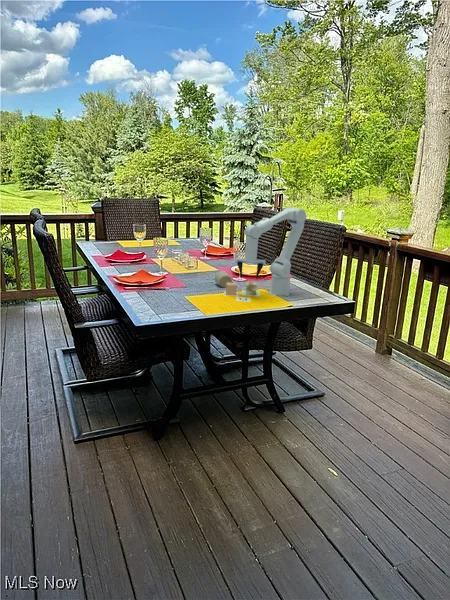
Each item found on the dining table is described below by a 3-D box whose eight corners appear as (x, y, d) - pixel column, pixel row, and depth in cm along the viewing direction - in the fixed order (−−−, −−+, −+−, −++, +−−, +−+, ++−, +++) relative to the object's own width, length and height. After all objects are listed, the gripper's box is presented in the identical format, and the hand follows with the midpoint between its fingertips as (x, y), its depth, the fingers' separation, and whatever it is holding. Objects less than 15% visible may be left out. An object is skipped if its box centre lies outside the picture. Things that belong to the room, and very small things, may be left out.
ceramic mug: (219, 288, 226) (220, 274, 223) (214, 284, 233) (215, 270, 231) (238, 288, 229) (239, 274, 227) (232, 284, 236) (233, 270, 234)
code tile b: (237, 292, 221) (237, 292, 220) (237, 296, 214) (238, 296, 214) (224, 291, 221) (224, 291, 220) (223, 295, 214) (223, 295, 214)
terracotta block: (235, 292, 219) (236, 283, 218) (236, 295, 215) (236, 285, 213) (226, 291, 219) (226, 282, 218) (225, 294, 215) (226, 284, 213)
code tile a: (250, 298, 213) (250, 297, 213) (250, 302, 206) (250, 301, 206) (235, 297, 213) (236, 296, 213) (236, 301, 206) (236, 300, 206)
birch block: (255, 292, 222) (256, 282, 221) (255, 295, 217) (256, 285, 216) (245, 291, 222) (246, 282, 221) (245, 294, 217) (246, 284, 216)
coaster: (259, 292, 224) (259, 291, 224) (260, 297, 216) (260, 296, 216) (241, 290, 224) (241, 290, 224) (241, 295, 216) (242, 295, 216)
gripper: (236, 250, 205) (234, 278, 209) (266, 253, 205) (264, 281, 209) (236, 248, 211) (234, 275, 215) (265, 250, 211) (263, 277, 215)
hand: (248, 277), depth 212 cm, fingers open, 7 cm apart
